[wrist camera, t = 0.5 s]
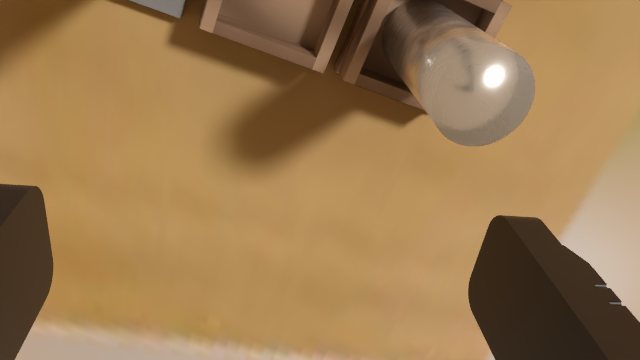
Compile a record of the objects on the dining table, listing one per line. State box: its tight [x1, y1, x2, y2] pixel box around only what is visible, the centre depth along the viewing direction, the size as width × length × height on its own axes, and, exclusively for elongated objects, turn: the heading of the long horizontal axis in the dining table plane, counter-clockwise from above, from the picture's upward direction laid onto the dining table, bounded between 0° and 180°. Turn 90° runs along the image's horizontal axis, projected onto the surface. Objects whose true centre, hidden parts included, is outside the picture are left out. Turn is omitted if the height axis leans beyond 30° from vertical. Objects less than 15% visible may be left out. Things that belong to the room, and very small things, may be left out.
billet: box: [382, 0, 535, 146], centre depth 30 cm, size 5×5×12 cm
